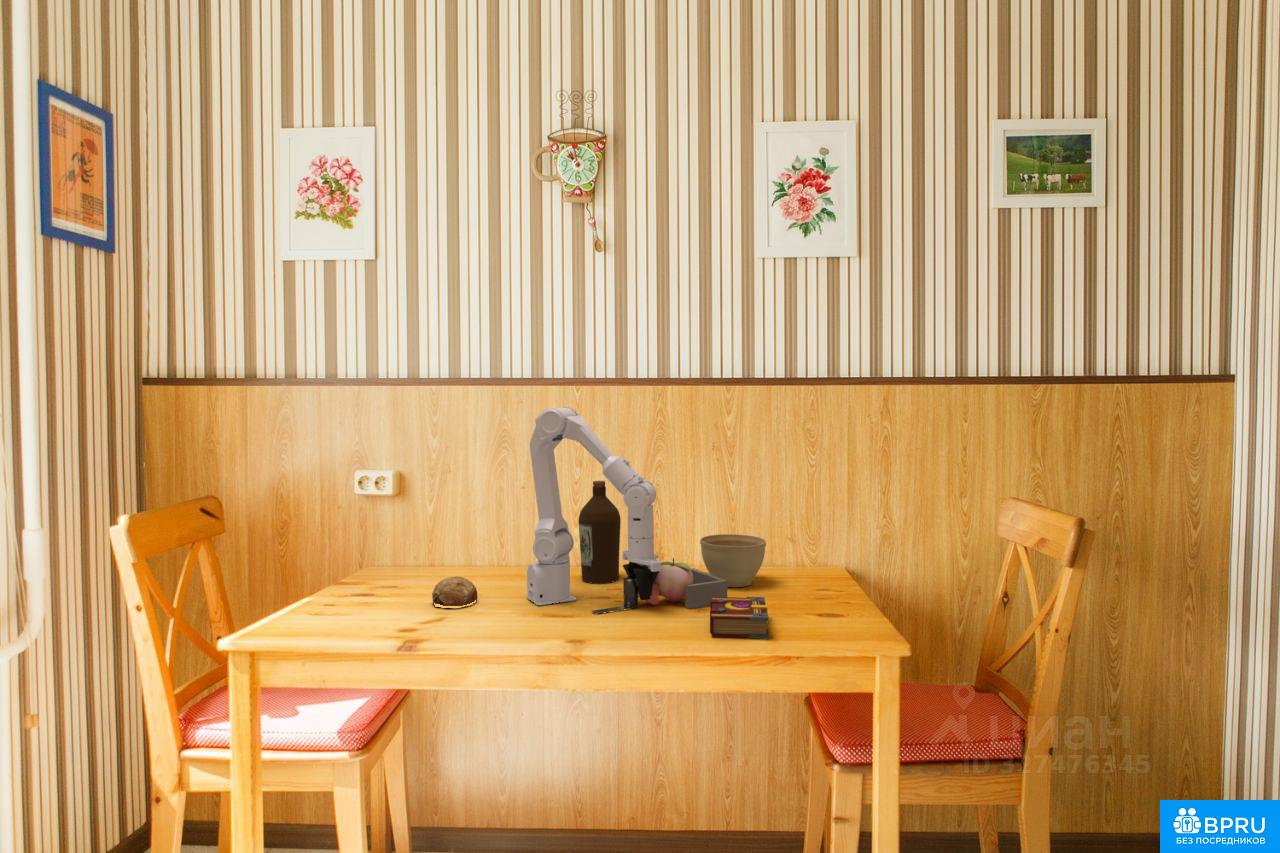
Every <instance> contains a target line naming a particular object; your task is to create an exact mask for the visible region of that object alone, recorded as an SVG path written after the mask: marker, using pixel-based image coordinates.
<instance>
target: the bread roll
mask: <svg viewBox="0 0 1280 853" xmlns="http://www.w3.org/2000/svg"><path fill="white" fill-rule="evenodd" d="M477 590H478V589H477V588H476V586H475V585H474V583H473V582H471V581H470V580H469V579H467V578H465V577H462V576H457V575H456V576H450V577H449V576H448V577H446V578H444V579H442V580H440V581H438V582H437V584H436V585H435V586H434V589H433V591H432V592H431V595H432V596H431V598H432V604H433V603H435V604H440V605H443V606H463V605H467V604H470V603H472V602H474V601H475V600H476V601H477V600H478V591H477Z"/></svg>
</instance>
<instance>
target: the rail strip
mask: <svg viewBox="0 0 1280 853" xmlns="http://www.w3.org/2000/svg"><path fill="white" fill-rule="evenodd" d="M624 609H631V608H629V607H624V605H620V606H612V607H608V608H607V607H606V608H600V609H594V610H591V611H592V612H593V613H595V614H597V613H604V612H610V611H618V610H624ZM631 610H632V609H631ZM624 611H625V610H624ZM618 612H619V611H618ZM593 613H592V614H593ZM595 614H594V615H595Z"/></svg>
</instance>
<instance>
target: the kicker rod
mask: <svg viewBox="0 0 1280 853" xmlns="http://www.w3.org/2000/svg"><path fill="white" fill-rule="evenodd" d="M622 581H623V584H622V586H623V588H622V589H623V596H622V597H623V606H624V607H629V608H637V607H638V606H639V598H640V596H639V591H638V582H637V578H636V577H628V576H626V577H623V580H622ZM659 596H660V595H659V584H657V583H655V582H654V584H653V588H652V592H651V596H650V599H647V600H644V602H646V603H648V604H650V605H653V606H654V605H658V604H659V603H660V602H659V600H660V599H659Z"/></svg>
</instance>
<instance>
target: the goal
mask: <svg viewBox="0 0 1280 853" xmlns="http://www.w3.org/2000/svg"><path fill="white" fill-rule="evenodd" d="M690 568H691V567H690ZM691 570H692V571H691V572H692V574H693V584H691V585H685V597H684V598H685V602H684V606H685V609H687V610H691V609H698V608H704V607H711V606H710V602H711V599H712V597H728V587H727V581H726V580H724V579H721V578H718V577H716V576H713V575H711V574H710V573H709V572H705V571H702V570H699V569H697V568H694V567H693V568H691ZM659 596H662V595H661V594H660V593H659Z"/></svg>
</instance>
